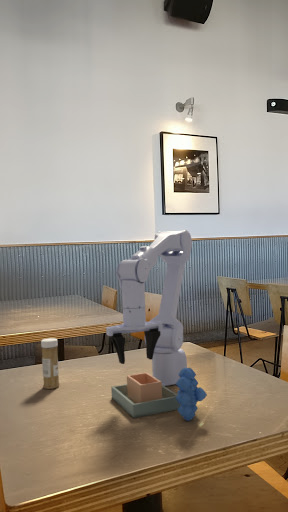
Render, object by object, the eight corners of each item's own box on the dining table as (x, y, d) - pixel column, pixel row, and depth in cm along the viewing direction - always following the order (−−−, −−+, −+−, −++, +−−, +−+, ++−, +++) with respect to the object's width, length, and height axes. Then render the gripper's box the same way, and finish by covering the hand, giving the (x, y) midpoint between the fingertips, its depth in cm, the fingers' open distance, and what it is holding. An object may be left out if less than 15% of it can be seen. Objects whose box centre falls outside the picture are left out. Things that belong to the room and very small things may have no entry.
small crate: (147, 393, 115) (146, 372, 114) (162, 404, 106) (161, 381, 106) (127, 397, 112) (126, 375, 112) (141, 408, 104) (140, 385, 104)
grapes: (203, 433, 91) (201, 374, 91) (171, 430, 93) (169, 373, 93) (212, 412, 102) (210, 360, 102) (183, 409, 104) (181, 359, 104)
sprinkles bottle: (61, 387, 125) (60, 339, 124) (46, 390, 122) (44, 341, 122) (55, 383, 128) (53, 337, 128) (40, 386, 126) (38, 339, 126)
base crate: (154, 390, 119) (153, 379, 118) (180, 408, 105) (180, 396, 105) (111, 398, 114) (111, 386, 114) (133, 418, 100) (133, 405, 100)
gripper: (112, 311, 105) (114, 368, 105) (166, 306, 111) (168, 360, 111) (102, 308, 111) (104, 362, 112) (154, 303, 117) (156, 354, 118)
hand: (136, 360), depth 112 cm, fingers open, 7 cm apart
